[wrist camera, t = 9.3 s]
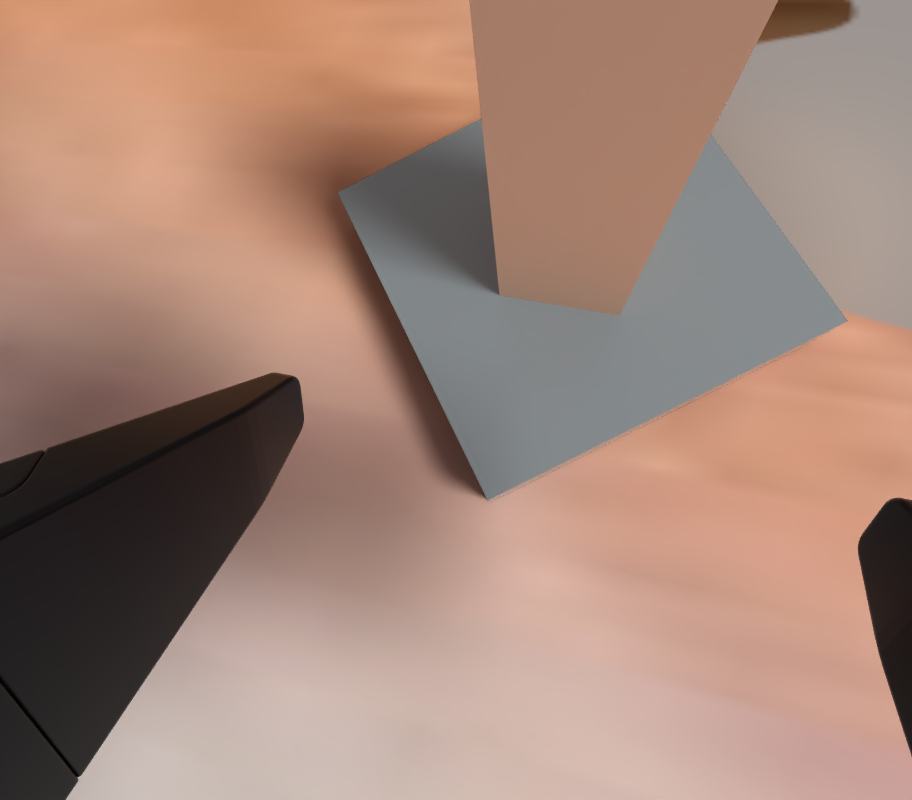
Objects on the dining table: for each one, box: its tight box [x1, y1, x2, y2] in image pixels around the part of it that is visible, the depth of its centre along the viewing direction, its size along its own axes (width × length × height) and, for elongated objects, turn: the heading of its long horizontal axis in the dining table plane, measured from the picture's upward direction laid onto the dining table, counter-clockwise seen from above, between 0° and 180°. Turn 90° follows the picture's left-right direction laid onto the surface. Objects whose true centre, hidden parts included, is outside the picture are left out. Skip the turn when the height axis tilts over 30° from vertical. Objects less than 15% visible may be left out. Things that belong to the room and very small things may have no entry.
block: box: [469, 0, 778, 316], centre depth 14 cm, size 4×4×13 cm
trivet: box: [337, 119, 848, 502], centre depth 21 cm, size 14×14×2 cm
